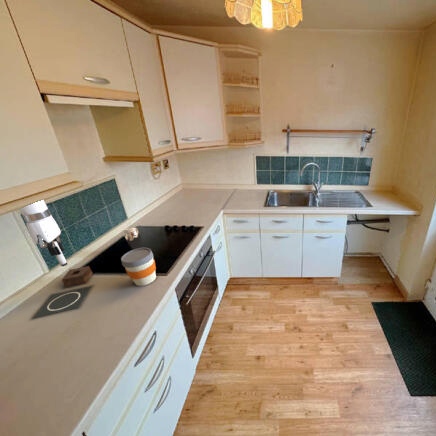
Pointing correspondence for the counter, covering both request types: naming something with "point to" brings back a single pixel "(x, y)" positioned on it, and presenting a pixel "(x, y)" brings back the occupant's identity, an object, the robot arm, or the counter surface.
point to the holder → (77, 276)
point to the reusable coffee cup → (140, 265)
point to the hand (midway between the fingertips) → (58, 252)
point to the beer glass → (133, 238)
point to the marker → (60, 256)
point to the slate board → (63, 302)
